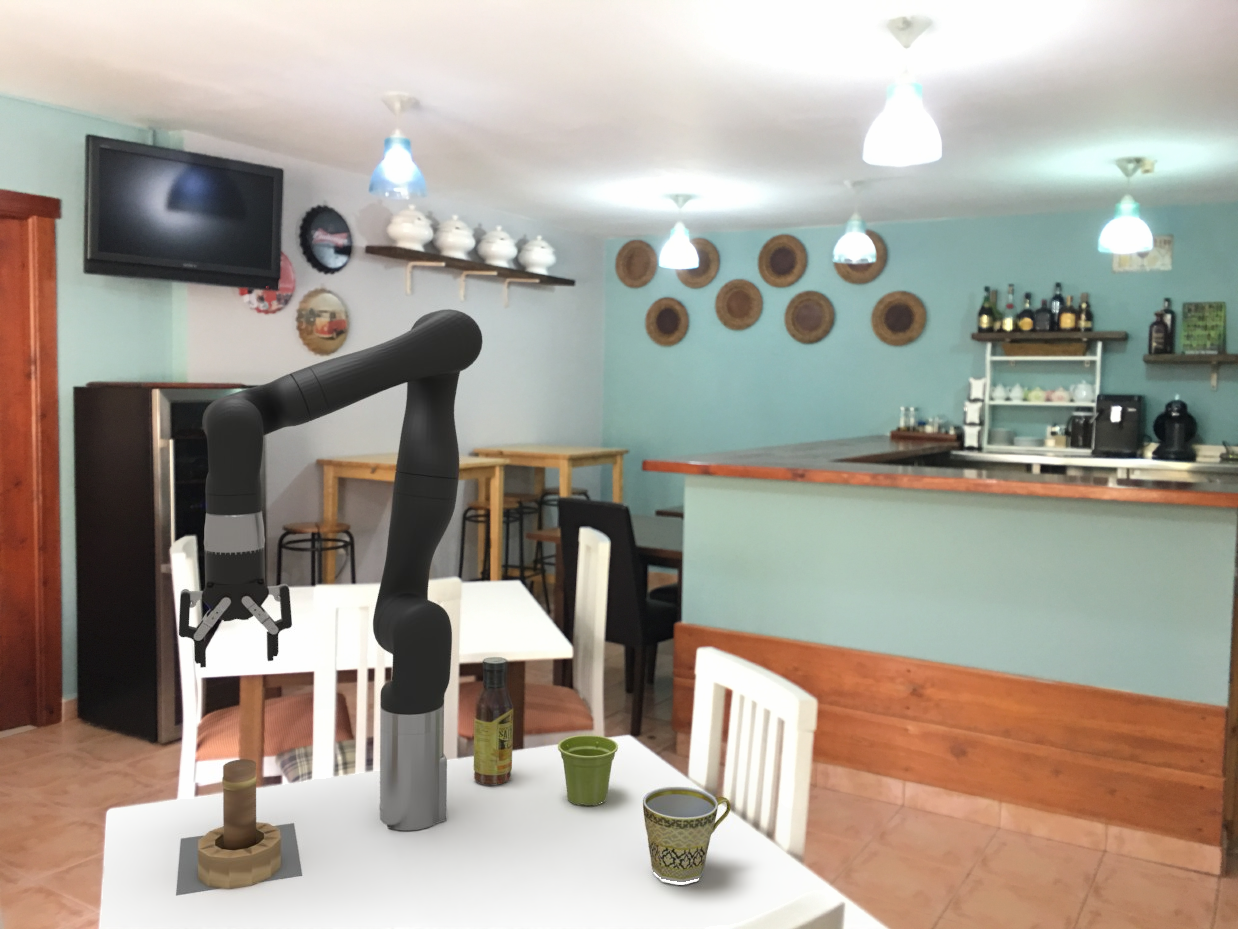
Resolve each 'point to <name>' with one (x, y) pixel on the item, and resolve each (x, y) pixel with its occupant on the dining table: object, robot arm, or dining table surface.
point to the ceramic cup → (680, 830)
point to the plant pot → (587, 767)
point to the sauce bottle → (493, 725)
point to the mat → (191, 884)
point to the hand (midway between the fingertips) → (236, 662)
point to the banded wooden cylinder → (239, 804)
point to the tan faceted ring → (239, 859)
